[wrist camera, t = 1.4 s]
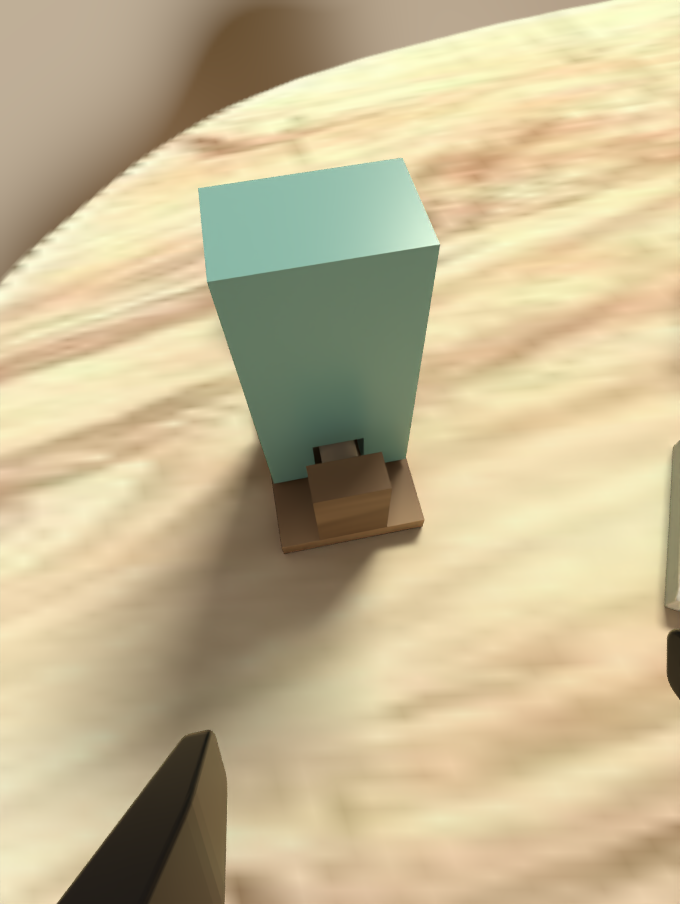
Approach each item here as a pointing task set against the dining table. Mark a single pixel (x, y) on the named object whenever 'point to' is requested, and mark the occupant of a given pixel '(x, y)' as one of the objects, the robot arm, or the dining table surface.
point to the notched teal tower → (323, 305)
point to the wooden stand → (345, 499)
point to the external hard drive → (674, 537)
